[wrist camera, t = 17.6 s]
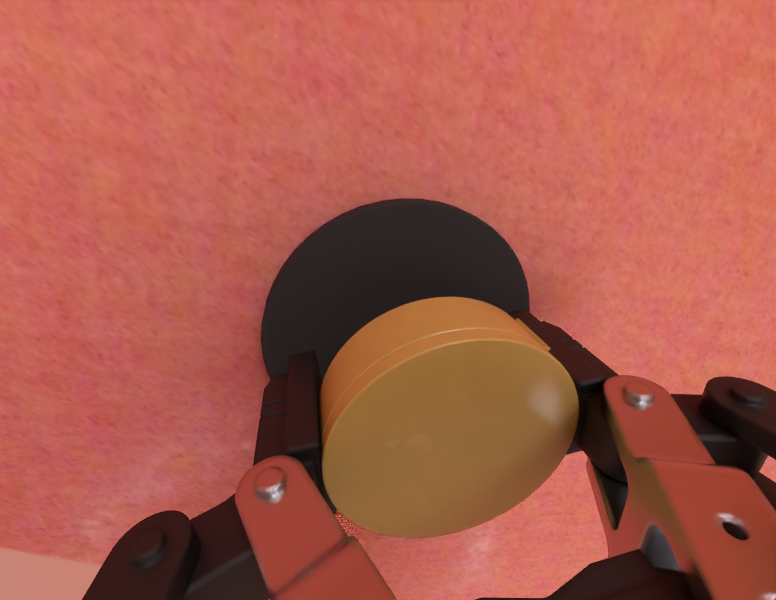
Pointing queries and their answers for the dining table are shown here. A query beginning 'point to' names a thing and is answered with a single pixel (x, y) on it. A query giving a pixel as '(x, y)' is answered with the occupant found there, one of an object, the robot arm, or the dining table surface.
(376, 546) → the dining table surface
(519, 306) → the coaster
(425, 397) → the lid
